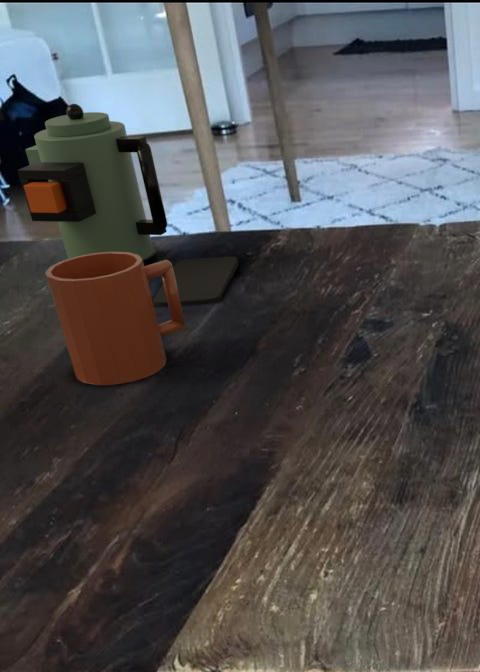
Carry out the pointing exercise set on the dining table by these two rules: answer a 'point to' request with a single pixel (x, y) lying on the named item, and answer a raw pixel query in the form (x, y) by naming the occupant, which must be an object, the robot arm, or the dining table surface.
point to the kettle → (97, 184)
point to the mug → (113, 315)
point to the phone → (200, 280)
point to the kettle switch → (45, 197)
